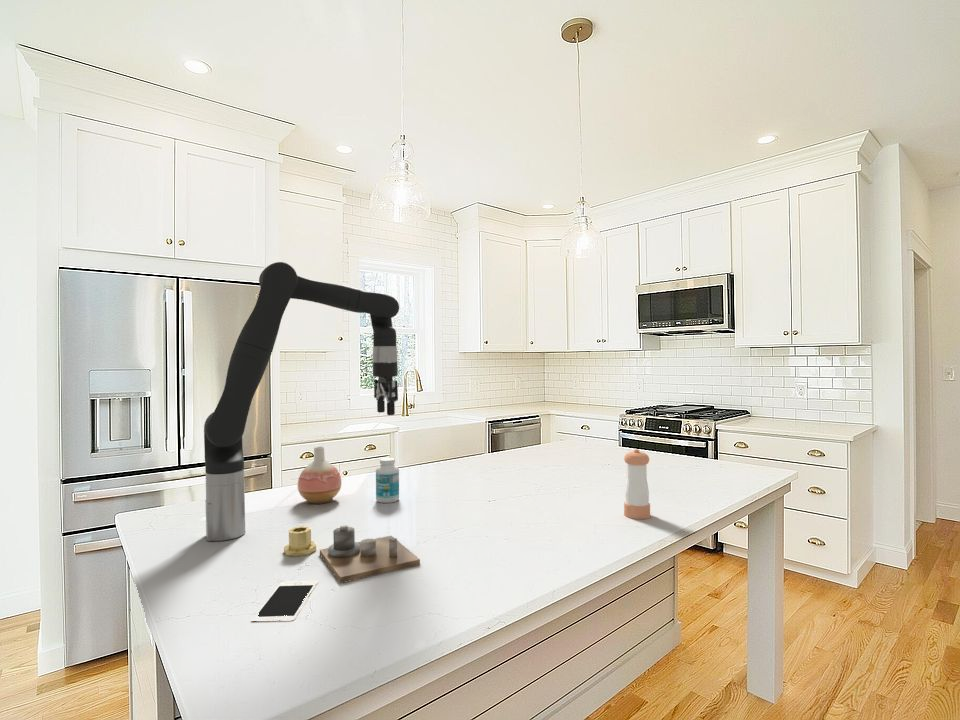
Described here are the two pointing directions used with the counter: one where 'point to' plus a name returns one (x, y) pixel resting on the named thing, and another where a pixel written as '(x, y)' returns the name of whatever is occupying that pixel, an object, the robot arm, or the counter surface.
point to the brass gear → (299, 542)
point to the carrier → (365, 555)
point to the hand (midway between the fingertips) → (385, 413)
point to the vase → (319, 480)
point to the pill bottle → (387, 481)
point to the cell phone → (286, 600)
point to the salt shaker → (636, 486)
